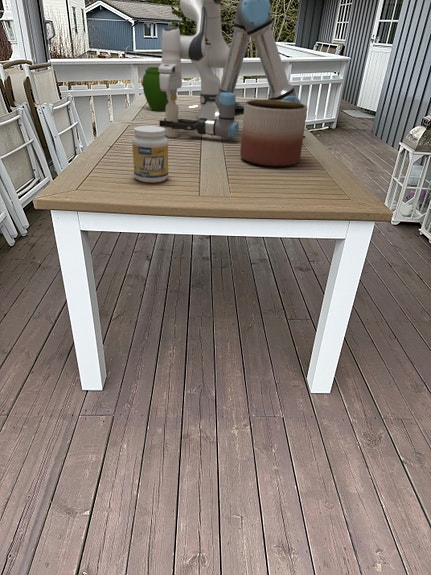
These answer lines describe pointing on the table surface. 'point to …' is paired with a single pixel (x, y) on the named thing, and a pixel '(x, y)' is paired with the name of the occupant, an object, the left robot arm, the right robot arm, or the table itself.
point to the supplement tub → (150, 154)
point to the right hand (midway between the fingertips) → (162, 122)
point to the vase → (154, 90)
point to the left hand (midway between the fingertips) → (171, 99)
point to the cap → (174, 96)
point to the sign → (239, 107)
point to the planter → (272, 132)
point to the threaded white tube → (171, 118)
